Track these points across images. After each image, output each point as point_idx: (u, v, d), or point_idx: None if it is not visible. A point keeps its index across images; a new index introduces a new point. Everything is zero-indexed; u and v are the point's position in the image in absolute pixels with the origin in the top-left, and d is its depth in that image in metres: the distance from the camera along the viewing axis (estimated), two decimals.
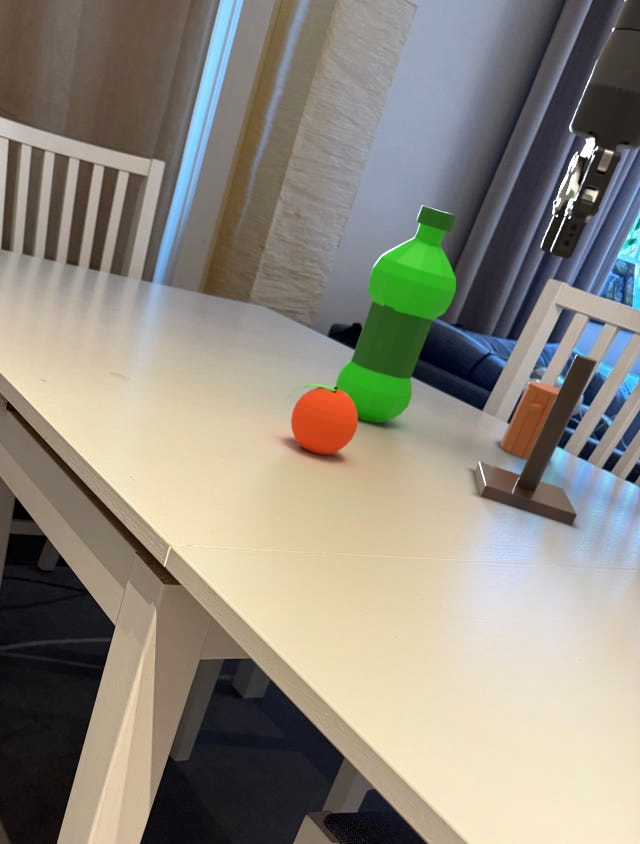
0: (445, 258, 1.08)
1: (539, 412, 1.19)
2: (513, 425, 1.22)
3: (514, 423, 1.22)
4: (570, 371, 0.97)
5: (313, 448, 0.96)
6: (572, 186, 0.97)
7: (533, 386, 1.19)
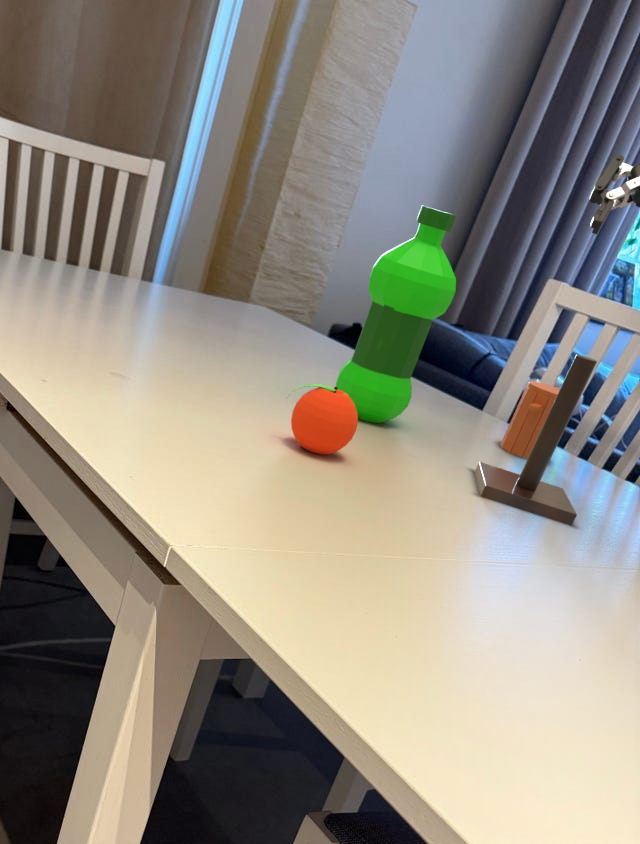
0: (445, 258, 1.08)
1: (539, 412, 1.19)
2: (513, 425, 1.22)
3: (514, 423, 1.22)
4: (570, 371, 0.97)
5: (313, 448, 0.96)
6: None
7: (533, 386, 1.19)
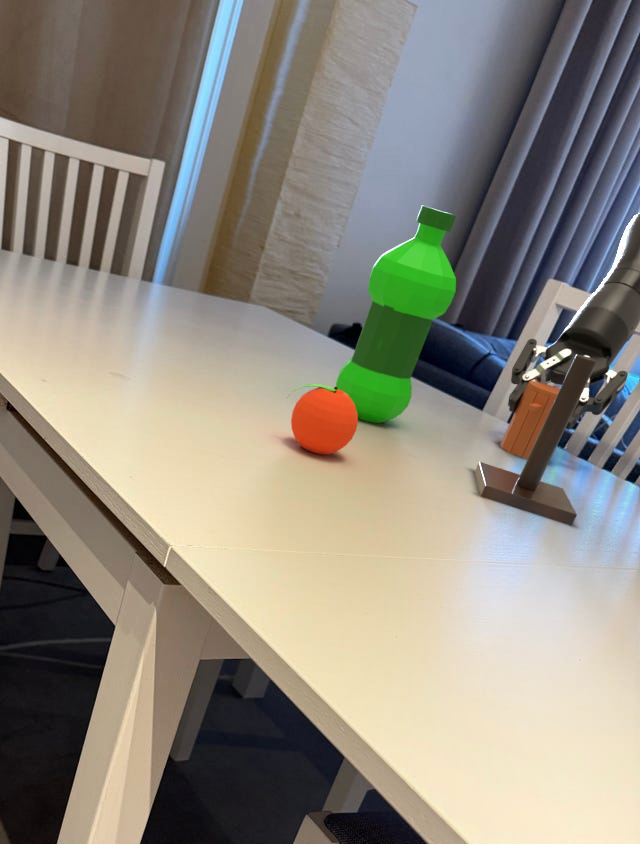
0: (445, 258, 1.08)
1: (539, 412, 1.19)
2: (513, 425, 1.22)
3: (514, 423, 1.22)
4: (570, 371, 0.97)
5: (313, 448, 0.96)
6: None
7: (533, 386, 1.19)
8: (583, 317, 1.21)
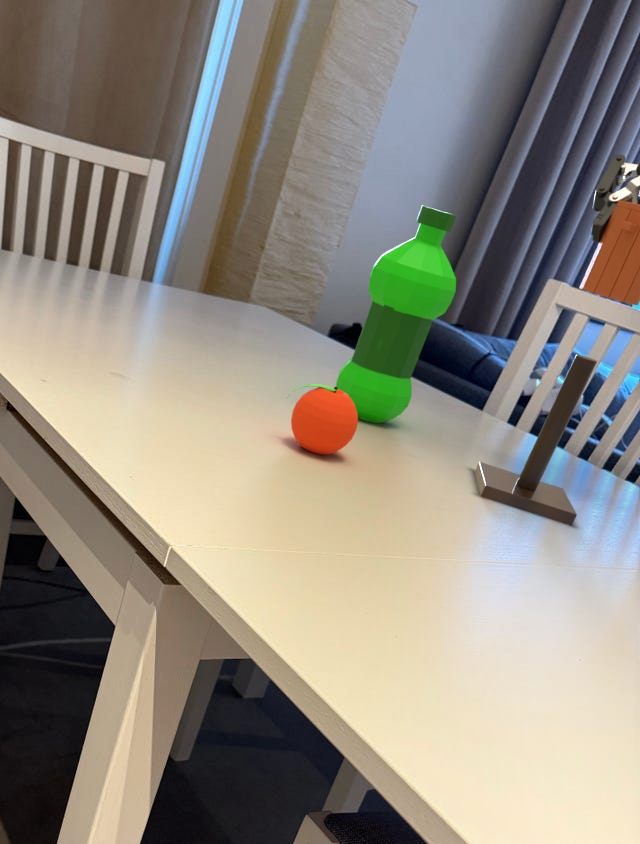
0: (445, 258, 1.08)
1: (633, 234, 0.95)
2: (598, 256, 0.98)
3: (599, 254, 0.98)
4: (570, 371, 0.97)
5: (313, 448, 0.96)
6: None
7: (625, 203, 0.96)
8: None
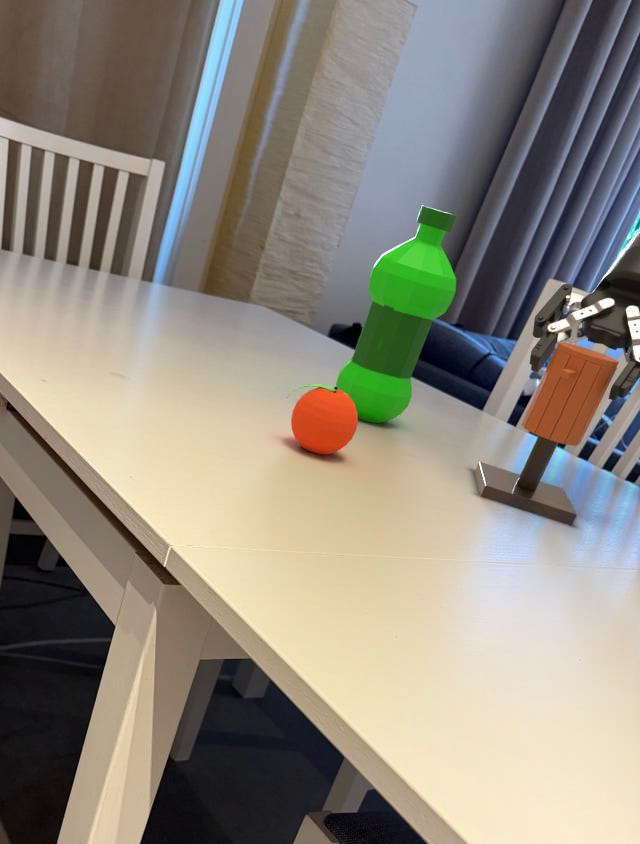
0: (445, 258, 1.08)
1: (572, 380, 0.94)
2: (539, 397, 0.97)
3: (540, 395, 0.97)
4: None
5: (313, 448, 0.96)
6: None
7: (565, 347, 0.95)
8: (629, 258, 0.97)
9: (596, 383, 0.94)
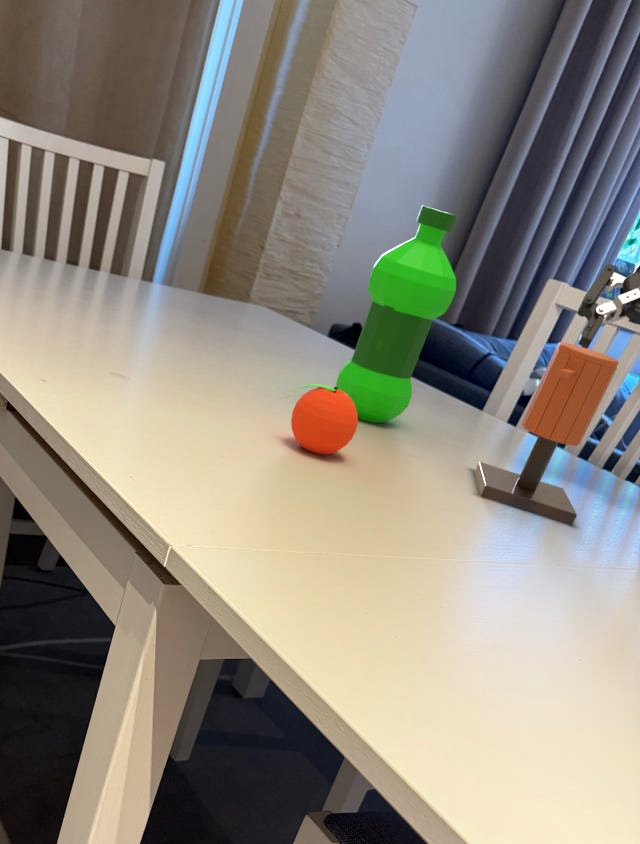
0: (445, 258, 1.08)
1: (572, 380, 0.94)
2: (539, 397, 0.97)
3: (540, 395, 0.97)
4: None
5: (313, 448, 0.96)
6: None
7: (565, 347, 0.95)
8: None
9: (596, 383, 0.94)
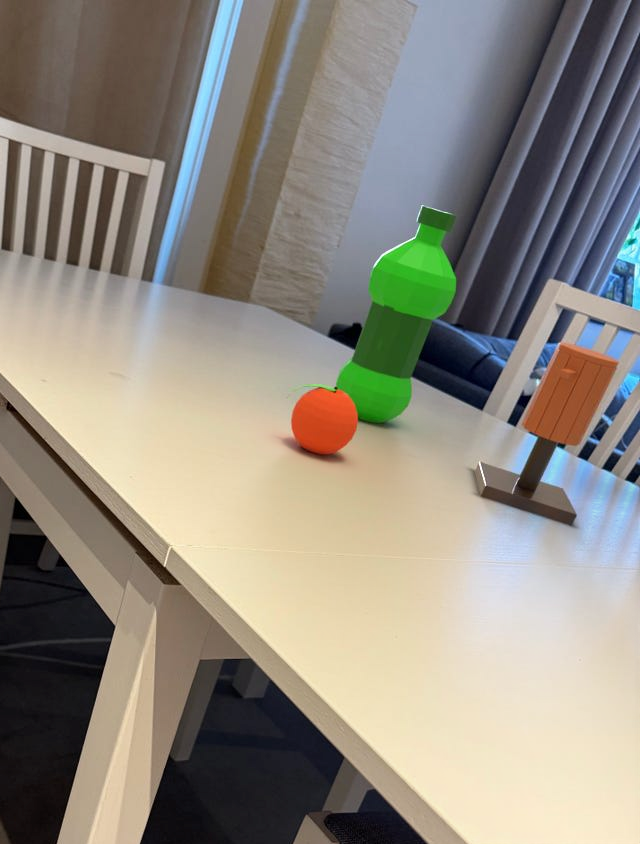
0: (445, 258, 1.08)
1: (572, 380, 0.94)
2: (539, 397, 0.97)
3: (540, 395, 0.97)
4: None
5: (313, 448, 0.96)
6: None
7: (565, 347, 0.95)
8: None
9: (596, 383, 0.94)
